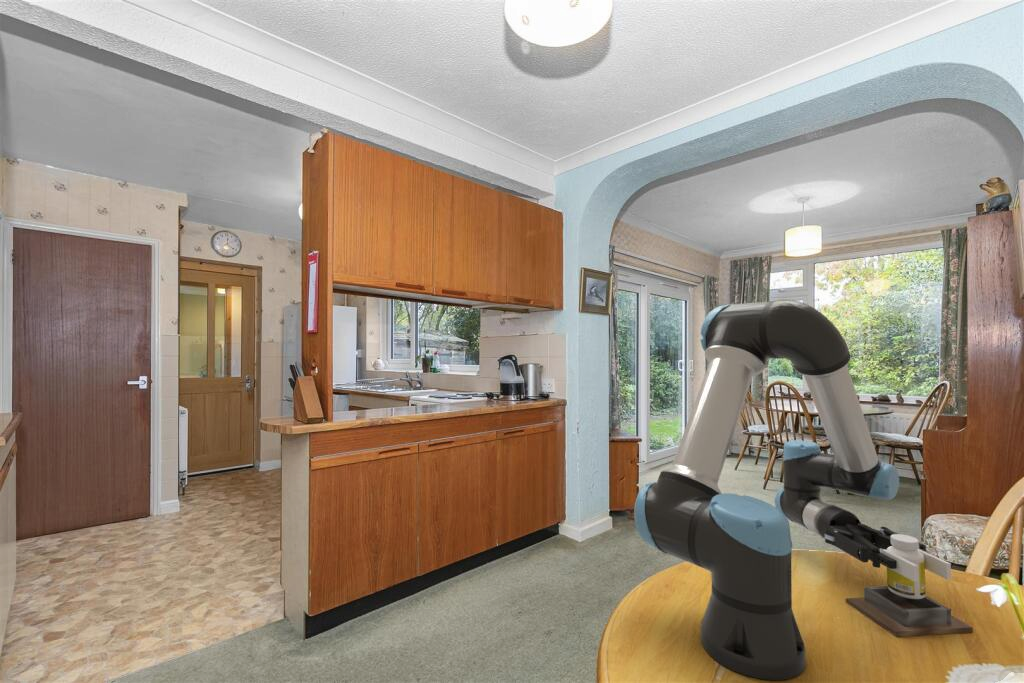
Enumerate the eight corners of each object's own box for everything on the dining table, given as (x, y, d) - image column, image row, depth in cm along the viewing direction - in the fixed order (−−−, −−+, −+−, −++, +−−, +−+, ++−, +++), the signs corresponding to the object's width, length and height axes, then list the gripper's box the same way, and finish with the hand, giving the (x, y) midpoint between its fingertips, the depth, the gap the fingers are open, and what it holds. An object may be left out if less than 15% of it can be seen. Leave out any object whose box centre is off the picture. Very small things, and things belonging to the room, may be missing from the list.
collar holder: (896, 636, 82) (895, 616, 82) (846, 602, 93) (845, 584, 93) (972, 631, 83) (972, 612, 83) (914, 598, 94) (914, 581, 94)
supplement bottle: (911, 585, 90) (910, 532, 91) (933, 601, 85) (932, 544, 85) (879, 584, 91) (879, 532, 91) (900, 599, 86) (899, 543, 86)
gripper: (872, 538, 107) (982, 591, 84) (792, 542, 105) (882, 597, 82) (871, 503, 107) (981, 547, 84) (791, 507, 105) (881, 553, 82)
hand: (932, 572), depth 83 cm, fingers closed on supplement bottle, 5 cm apart
